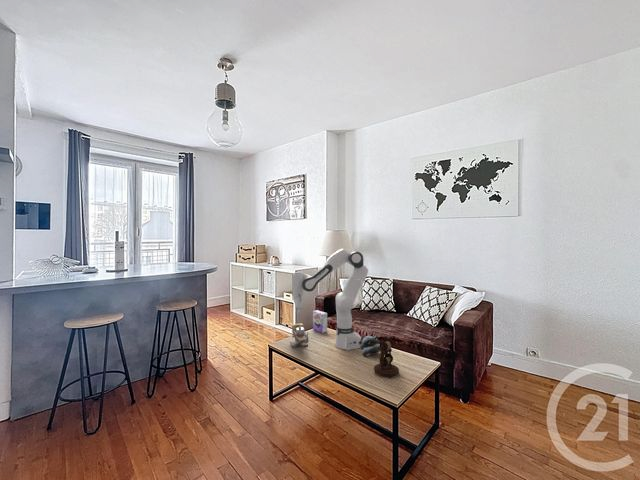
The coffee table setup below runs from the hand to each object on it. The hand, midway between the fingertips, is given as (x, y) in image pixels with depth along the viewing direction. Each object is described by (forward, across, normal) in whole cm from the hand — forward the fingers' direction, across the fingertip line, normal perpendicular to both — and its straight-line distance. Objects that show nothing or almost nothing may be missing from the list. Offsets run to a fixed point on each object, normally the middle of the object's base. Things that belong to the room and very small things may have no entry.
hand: (298, 311), depth 227 cm
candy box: (+26, +26, -23) cm, 43 cm away
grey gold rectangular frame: (+25, -8, 0) cm, 26 cm away
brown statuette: (+25, -60, -44) cm, 79 cm away
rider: (+15, -8, 0) cm, 17 cm away
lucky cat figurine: (+25, -31, -46) cm, 61 cm away
